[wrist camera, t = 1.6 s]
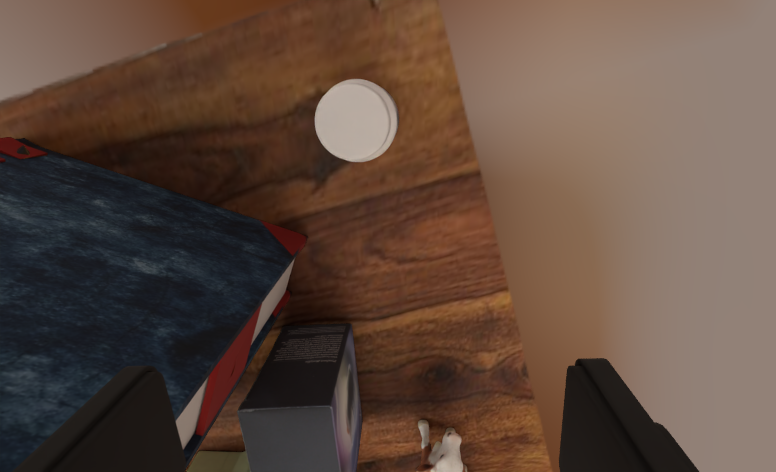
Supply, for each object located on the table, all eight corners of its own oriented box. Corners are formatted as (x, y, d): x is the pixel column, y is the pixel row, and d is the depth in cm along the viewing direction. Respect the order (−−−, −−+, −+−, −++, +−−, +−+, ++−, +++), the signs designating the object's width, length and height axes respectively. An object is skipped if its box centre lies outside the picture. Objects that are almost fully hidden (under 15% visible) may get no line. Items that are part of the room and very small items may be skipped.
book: (-11, 205, 33) (-1008, 460, 10) (-9, 121, 31) (-1277, 191, 8) (290, 302, 35) (42, 727, 11) (312, 228, 33) (61, 562, 9)
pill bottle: (366, 164, 31) (351, 187, 23) (320, 117, 30) (288, 122, 22) (413, 119, 30) (415, 126, 22) (367, 68, 29) (351, 55, 21)
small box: (367, 422, 38) (353, 536, 28) (298, 424, 39) (260, 537, 29) (355, 321, 35) (334, 408, 25) (280, 324, 36) (230, 412, 26)
